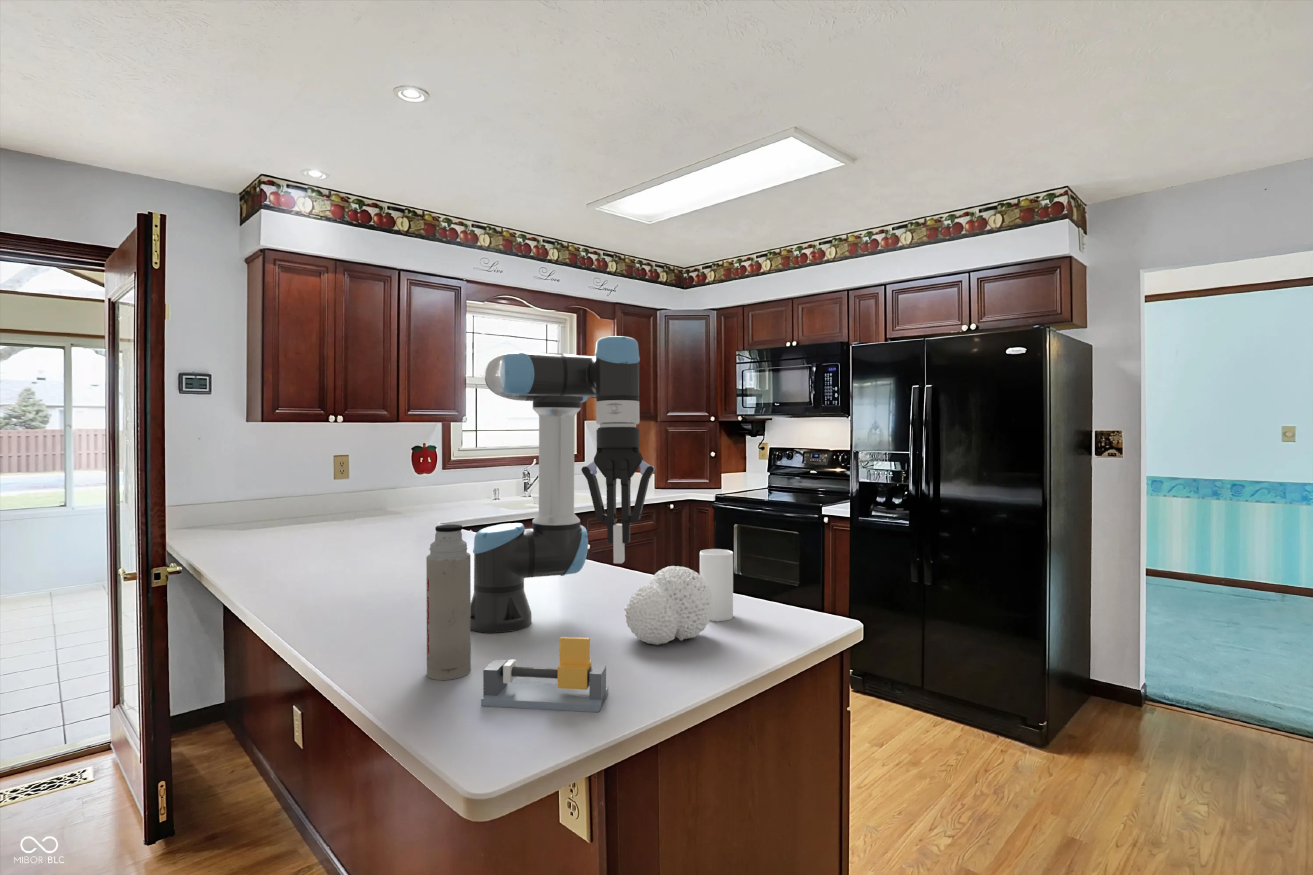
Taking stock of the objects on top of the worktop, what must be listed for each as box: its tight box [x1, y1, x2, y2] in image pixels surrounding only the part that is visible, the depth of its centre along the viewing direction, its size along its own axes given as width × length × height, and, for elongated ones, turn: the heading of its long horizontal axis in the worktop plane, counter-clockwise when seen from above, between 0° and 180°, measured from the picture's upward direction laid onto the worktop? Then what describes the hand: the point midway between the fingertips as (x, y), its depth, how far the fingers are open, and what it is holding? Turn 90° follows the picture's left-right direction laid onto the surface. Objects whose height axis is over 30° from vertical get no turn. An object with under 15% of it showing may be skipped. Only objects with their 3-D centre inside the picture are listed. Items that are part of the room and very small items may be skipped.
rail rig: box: [480, 659, 609, 713], centre depth 114 cm, size 20×8×6 cm, turn 83°
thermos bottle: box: [425, 524, 472, 681], centre depth 127 cm, size 8×8×28 cm
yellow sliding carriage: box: [557, 636, 593, 690], centre depth 113 cm, size 5×4×8 cm
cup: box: [699, 548, 734, 622], centre depth 165 cm, size 8×8×16 cm
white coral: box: [623, 565, 713, 646], centre depth 147 cm, size 20×18×16 cm
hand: (619, 561), depth 116 cm, fingers closed
